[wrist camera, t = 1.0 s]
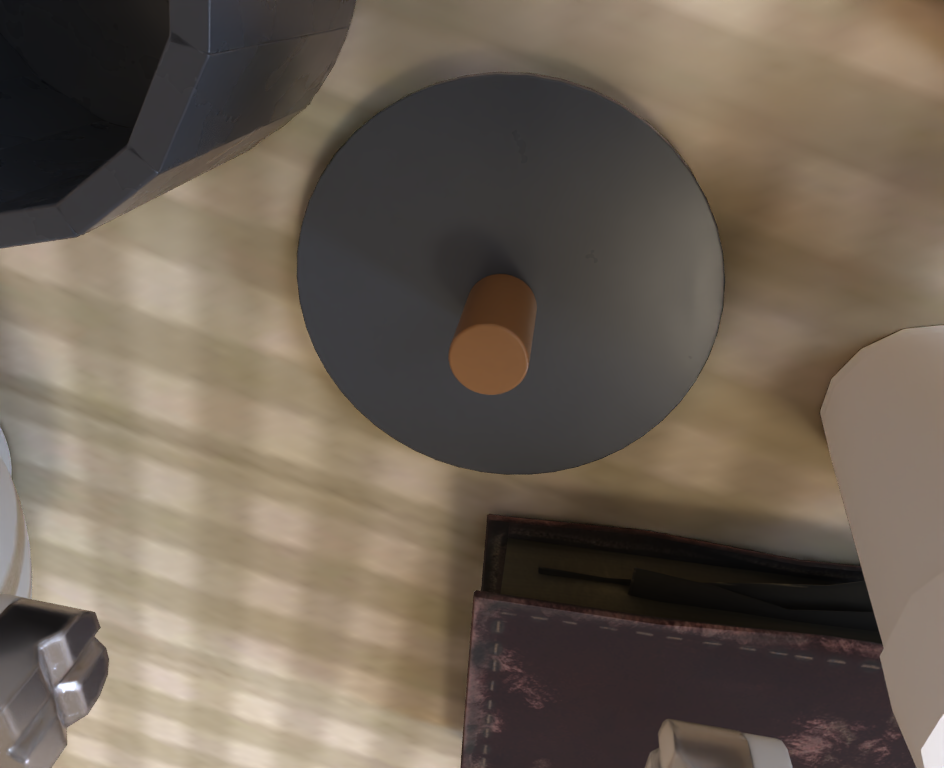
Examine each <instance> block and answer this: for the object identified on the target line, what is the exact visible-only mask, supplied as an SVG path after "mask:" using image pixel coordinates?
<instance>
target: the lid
mask: <svg viewBox="0 0 944 768" xmlns="http://www.w3.org/2000/svg"><path fill="white" fill-rule="evenodd" d="M297 282H298V290H299V299H300V305H301V309H302V313H303V317H304V321H305V324H306V328H307V330H308V333H309V335H310V338H311V341H312V343H313V346H314V348H315V350H316V352H317V354H318V356H319V358H320V360H321V361H322V363H323V365H324V367H325V369H326V371H327V372H328V374H329V375H330V376H331V378H332V379H333V381H334V382H335V384H336V385H337V386H338V388H339V389H340V391H341V392H342V393H343V394H344V395H345V396H346V397H347V398H348V400H349V401H350V402H351V403H352V404H353V405H354V406H355V407H356V409H358V410H359V411H360V412H361V413H362V414H363V415H364V416H365V417H366V418H368V419H369V420H370V421H371V422H372V423H373V424H374V425H376V426H377V427H378V428H380V429H381V430H383V431H384V432H385V433H387V434H388V435H389V436H391V437H392V438H394V439H395V440H397V441H399V442H401V443H402V444H404V445H406V446H408V447H409V448H411V449H413V450H415V451H417V452H419V453H422V454H424V455H426V456H429V457H431V458H433V459H435V460H438V461H441V462H444V463H448V464H451V465H454V466H457V467H461V468H465V469H470V470H475V471H480V472H487V473H496V474H506V475H509V474H539V473H548V472H556V471H560V470H565V469H569V468H574V467H578V466H581V465H584V464H587V463H590V462H593V461H596V460H599V459H602V458H604V457H606V456H608V455H610V454H612V453H614V452H616V451H619V450H621V449H623V448H624V447H626V446H628V445H629V444H631V443H632V442H634V441H636V440H637V439H639V438H640V437H642V436H644V435H645V434H646V433H647V432H649V431H650V430H651V429H652V428H654V427H655V426H656V425H657V424H658V423H660V422H661V421H662V420H663V419H664V418H665V417H666V416H667V415H668V414H669V413H670V412H671V411H672V410H673V409H674V408H675V407H676V406H677V405H678V404H679V403H680V402H681V400H682V399H683V397H684V396H685V395H686V393H687V392H688V391H689V389H690V388H691V387H692V385H693V384H694V383H695V381H696V379H697V378H698V376H699V374H700V372H701V370H702V368H703V367H704V365H705V363H706V361H707V359H708V357H709V354H710V352H711V349H712V347H713V344H714V341H715V339H716V336H717V333H718V328H719V324H720V319H721V315H722V311H723V302H724V289H725V273H724V259H723V251H722V246H721V242H720V237H719V233H718V228H717V224H716V222H715V219H714V217H713V214H712V212H711V209H710V206H709V204H708V201H707V199H706V197H705V195H704V193H703V191H702V189H701V188H700V186H699V184H698V182H697V181H696V179H695V177H694V175H693V174H692V172H691V170H690V168H689V167H688V166H687V164H686V163H685V162H684V161H683V159H682V158H681V157H680V155H679V154H678V153H677V152H676V150H675V149H674V148H673V147H672V145H671V144H670V143H669V142H668V141H667V140H666V139H665V138H664V137H663V136H662V135H661V134H660V133H658V132H657V131H656V130H655V129H654V128H653V127H652V126H651V125H650V124H649V123H648V122H647V121H645V120H644V119H642V118H641V117H640V116H638V115H637V114H635V113H634V112H632V111H631V110H630V109H628V108H627V107H625V106H624V105H622V104H621V103H619V102H617V101H615V100H613V99H611V98H609V97H607V96H605V95H603V94H601V93H599V92H597V91H595V90H593V89H591V88H588V87H585V86H582V85H579V84H576V83H573V82H570V81H567V80H564V79H560V78H554V77H549V76H543V75H538V74H532V73H514V72H492V73H483V74H474V75H465V76H462V77H458V78H454V79H450V80H446V81H442V82H438V83H435V84H433V85H430V86H428V87H425V88H423V89H421V90H418V91H416V92H413V93H411V94H409V95H407V96H405V97H403V98H402V99H400V100H398V101H397V102H395V103H393V104H392V105H390V106H388V107H387V108H385V109H383V110H382V111H380V112H379V113H377V114H376V115H375V116H374V117H373V118H371V119H370V120H369V121H368V122H366V123H365V124H364V125H363V126H362V127H360V128H359V129H358V130H357V131H356V132H355V133H354V134H353V135H352V136H351V137H350V138H349V139H348V140H347V142H346V143H345V144H344V145H343V146H342V147H341V148H340V149H339V150H338V151H337V153H336V154H335V155H334V157H333V158H332V160H331V162H330V163H329V165H328V166H327V168H326V169H325V171H324V172H323V174H322V175H321V177H320V179H319V181H318V183H317V185H316V187H315V189H314V192H313V194H312V196H311V198H310V200H309V203H308V206H307V209H306V213H305V216H304V219H303V223H302V226H301V232H300V238H299V245H298V251H297Z"/></svg>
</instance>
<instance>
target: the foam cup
mask: <svg viewBox="0 0 944 768" xmlns="http://www.w3.org/2000/svg"><path fill="white" fill-rule="evenodd" d="M820 415H821V419H822V423H823V427H824V432H825V436H826V440H827V444H828V449H829V453H830V456H831V460H832V464H833V467H834V471H835V474H836V478H837V482H838V485H839V489H840V492H841V496H842V500H843V503H844V507H845V510H846V514H847V518H848V521H849V525H850V528H851V532H852V536H853V539H854V543H855V546H856V550H857V554H858V557H859V561H860V564H861V568H862V572H863V575H864V579H865V582H866V586H867V590H868V593H869V597H870V600H871V604H872V608H873V611H874V615H875V618H876V622H877V626H878V629H879V633H880V636H881V640H882V644H883V647H884V649H883V651H882V653H881V655H880V660H881V664H882V668H883V673H884V677H885V681H886V685H887V690H888V694H889V698H890V703H891V707H892V711H893V713H894V716H895V718H896V720H897V723H898V725H899V728H900V730H901V732H902V735H903V737H904V739H905V742H906V744H907V746H908V749H909V751H910V754H911V756H912V758H913V761H914V763H915V765H916V768H944V325H938V326H928V327H919V328H909V329H902V330H900V331H898V332H896V333H894V334H892V335H890V336H888V337H885V338H883V339H881V340H879V341H877V342H875V343H873V344H870V345H868V346H866V347H864V348H862V349H860V350H859V351H858V352H857V353H856V354H855V355H854V356H853V357H852V359H851V360H850V361H849V362H848V363H847V364H846V365H845V366H844V367H843V368H842V369H841V370H840V371H839V372H838V373H837V374H836V375H835V376H834V377H833V378H832V379H831V382H830V384H829V387H828V390H827V393H826V396H825V399H824V402H823V404H822V407H821V410H820Z"/></svg>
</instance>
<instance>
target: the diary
mask: <svg viewBox="0 0 944 768" xmlns="http://www.w3.org/2000/svg"><path fill="white" fill-rule="evenodd" d="M883 649H884V647H883V644H882V640H881V636H880V633H879V629H878V626H877V622H876V618H875V615H874V611H873V608H872V604H871V600H870V597H869V593H868V590H867V586H866V582H865V579H864V575H863V572H862V568H861V566H854V565H844V564H835V563H825V562H815V561H806V560H797V559H792V558H787V557H781V556H776V555H771V554H766V553H761V552H756V551H750V550H745V549H740V548H735V547H730V546H725V545H720V544H714V543H709V542H704V541H699V540H694V539H689V538H683V537H678V536H673V535H668V534H663V533H658V532H652V531H647V530H638V529H628V528H618V527H608V526H598V525H588V524H578V523H568V522H557V521H547V520H537V519H527V518H517V517H508V516H500V515H493V514H489V515H487V527H486V539H485V551H484V563H483V575H482V587H481V591H478V590H476V591H475V592H474V597H473V610H472V623H471V636H470V649H469V661H468V674H467V687H466V700H465V714H464V727H463V741H462V755H461V768H645V765H646V763H647V760H648V757H649V754H650V752H651V751H653V750H655V749H657V748H659V739H658V732H659V729H660V727H661V725H662V723H663V721H665V720H666V719H673V720H679V721H685V722H691V723H697V724H703V725H709V726H715V727H720V728H726V729H732V730H738V731H740V732H742V733H748V734H754V735H760V736H766V737H772V738H777V739H779V740H781V741H782V742H783V744H784V745H785V747H786V748H787V749H788V753H789V757H790V760H791V764H792V768H916V765H915V763H914V761H913V758H912V756H911V754H910V751H909V749H908V746H907V744H906V742H905V739H904V737H903V735H902V732H901V730H900V728H899V725H898V723H897V720H896V718H895V716H894V713H893V711H892V707H891V703H890V698H889V694H888V690H887V685H886V681H885V677H884V673H883V668H882V664H881V660H880V655H881V653H882V651H883Z"/></svg>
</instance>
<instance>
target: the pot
mask: <svg viewBox="0 0 944 768" xmlns="http://www.w3.org/2000/svg"><path fill="white" fill-rule="evenodd" d="M355 3H356V0H0V249H1V248H7V247H14V246H21V245H28V244H34V243H41V242H48V241H55V240H61V239H68V238H75V237H78V236H80V235H83V234H85V233H87V232H89V231H91V230H93V229H95V228H97V227H99V226H101V225H103V224H105V223H107V222H109V221H111V220H113V219H115V218H117V217H119V216H121V215H123V214H125V213H127V212H129V211H131V210H133V209H134V208H136V207H138V206H140V205H142V204H144V203H146V202H148V201H150V200H152V199H154V198H156V197H158V196H160V195H162V194H164V193H166V192H168V191H170V190H172V189H174V188H176V187H178V186H180V185H182V184H184V183H186V182H188V181H190V180H191V179H193V178H195V177H197V176H199V175H201V174H203V173H205V172H207V171H209V170H211V169H213V168H215V167H217V166H219V165H221V164H223V163H225V162H227V161H229V160H231V159H233V158H235V157H237V156H239V155H241V154H243V153H245V152H246V151H248V150H250V149H251V148H253V147H254V146H255V145H257V144H258V143H259V142H261V141H262V140H263V139H265V138H266V137H268V136H269V135H270V134H272V133H273V132H275V131H277V130H278V129H280V128H281V127H283V126H284V125H285V124H286V123H288V122H289V121H290V120H291V119H292V118H293V117H294V116H296V115H297V114H298V113H300V112H301V111H302V110H304V109H305V108H306V107H307V105H309V104H310V102H311V101H312V99H313V97H314V95H315V94H316V93H317V91H318V90H319V89H320V87H321V86H322V84H323V82H324V81H325V79H326V78H327V76H328V74H329V73H330V71H331V69H332V68H333V66H334V64H335V62H336V59H337V57H338V55H339V53H340V50H341V48H342V46H343V44H344V41H345V39H346V36H347V32H348V30H349V26H350V22H351V19H352V16H353V12H354V9H355Z"/></svg>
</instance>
